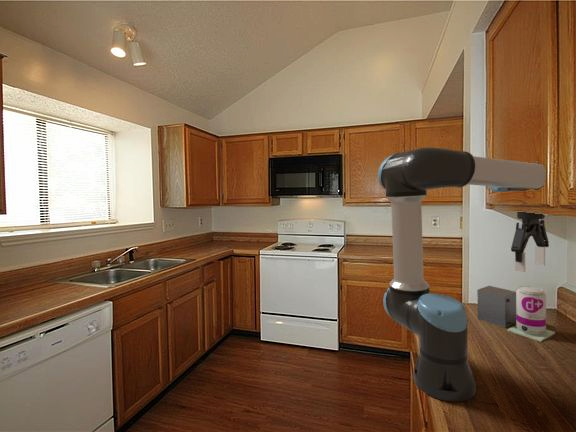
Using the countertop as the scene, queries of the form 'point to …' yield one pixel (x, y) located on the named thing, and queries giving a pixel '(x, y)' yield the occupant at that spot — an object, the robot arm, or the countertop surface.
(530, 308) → the supplement can
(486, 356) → the countertop surface
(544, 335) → the pad
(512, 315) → the box
